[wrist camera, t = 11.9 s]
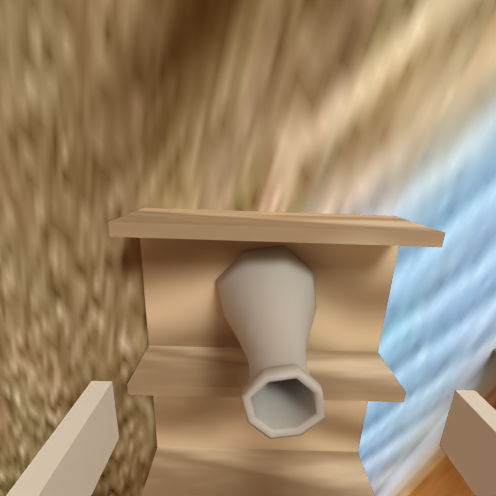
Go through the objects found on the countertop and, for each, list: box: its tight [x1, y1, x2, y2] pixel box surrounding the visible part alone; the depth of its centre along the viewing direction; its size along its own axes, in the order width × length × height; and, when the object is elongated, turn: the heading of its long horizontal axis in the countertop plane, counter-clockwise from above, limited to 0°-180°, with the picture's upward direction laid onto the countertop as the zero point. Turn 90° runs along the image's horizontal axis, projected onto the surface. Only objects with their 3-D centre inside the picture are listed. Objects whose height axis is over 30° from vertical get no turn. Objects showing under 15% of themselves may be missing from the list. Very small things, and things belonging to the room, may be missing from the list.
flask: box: [216, 245, 325, 439], centre depth 15 cm, size 7×7×10 cm
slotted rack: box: [108, 208, 445, 496], centre depth 20 cm, size 22×18×5 cm
